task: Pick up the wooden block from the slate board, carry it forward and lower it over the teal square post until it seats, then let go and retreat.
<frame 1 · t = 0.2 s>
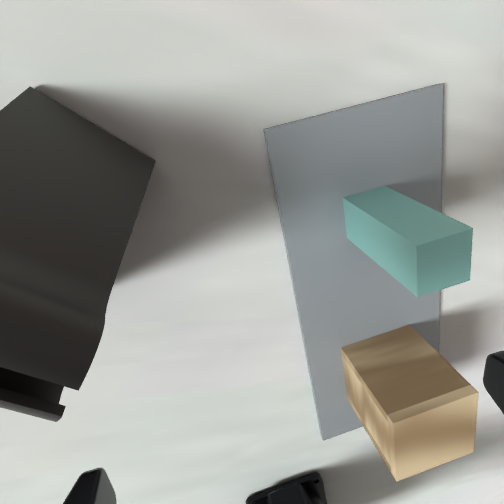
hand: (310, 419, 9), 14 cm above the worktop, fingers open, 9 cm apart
wooden block: (377, 363, 28), resting on board
board: (368, 292, 26), on the worktop
post: (365, 212, 23), resting on board
phone stand: (56, 203, 19), on the worktop
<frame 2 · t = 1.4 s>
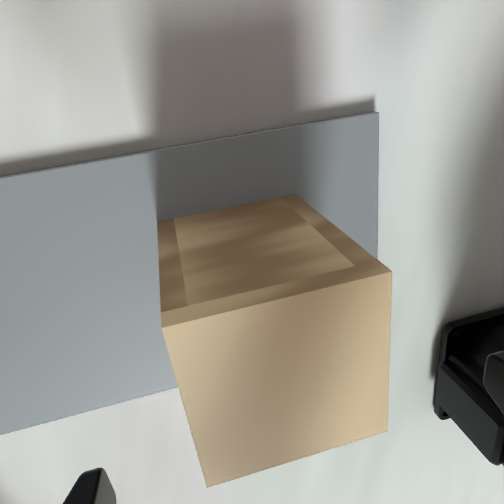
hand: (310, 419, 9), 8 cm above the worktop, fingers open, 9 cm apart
wooden block: (238, 269, 15), resting on board
board: (83, 299, 15), on the worktop
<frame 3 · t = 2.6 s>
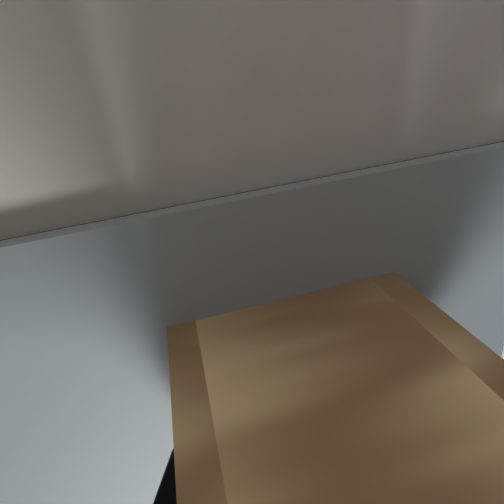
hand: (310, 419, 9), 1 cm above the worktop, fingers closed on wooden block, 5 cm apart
wooden block: (295, 387, 10), resting on board, touching gripper
board: (45, 443, 9), on the worktop
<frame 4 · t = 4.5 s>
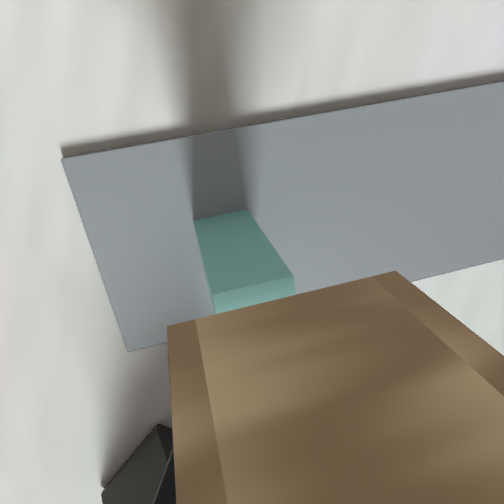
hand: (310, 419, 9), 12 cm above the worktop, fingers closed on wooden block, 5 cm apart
wooden block: (296, 386, 10), point 11 cm above the worktop, touching gripper
board: (337, 212, 20), on the worktop
post: (225, 239, 19), resting on board
phone stand: (189, 473, 26), on the worktop
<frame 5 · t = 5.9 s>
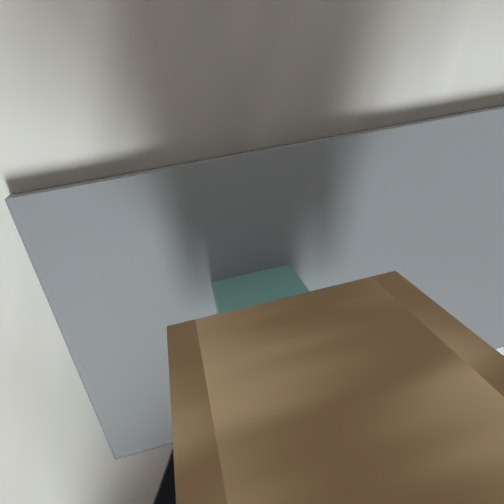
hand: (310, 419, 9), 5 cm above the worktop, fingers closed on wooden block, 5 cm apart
wooden block: (296, 386, 10), point 4 cm above the worktop, touching gripper
board: (411, 262, 14), on the worktop
post: (256, 306, 13), resting on board
when the fingers open (4 cm above the worktop, at t = 6.8 s): wooden block drops 1 cm, resting on post.
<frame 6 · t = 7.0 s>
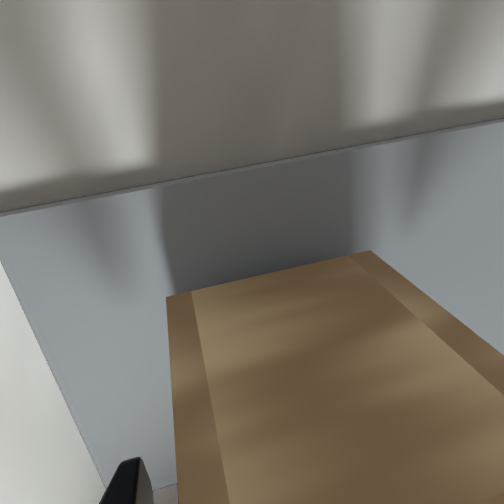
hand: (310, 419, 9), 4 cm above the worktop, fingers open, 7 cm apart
wooden block: (282, 355, 11), point 1 cm above the worktop, touching post
board: (442, 283, 13), on the worktop
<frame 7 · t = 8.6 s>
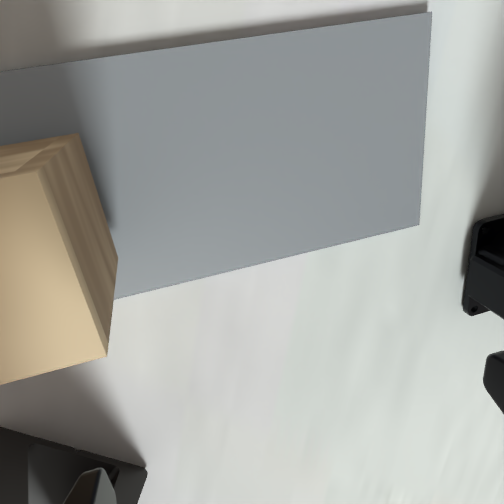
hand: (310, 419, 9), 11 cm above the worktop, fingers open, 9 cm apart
wooden block: (30, 213, 15), point 1 cm above the worktop, touching post
board: (180, 176, 17), on the worktop
phone stand: (51, 481, 23), on the worktop
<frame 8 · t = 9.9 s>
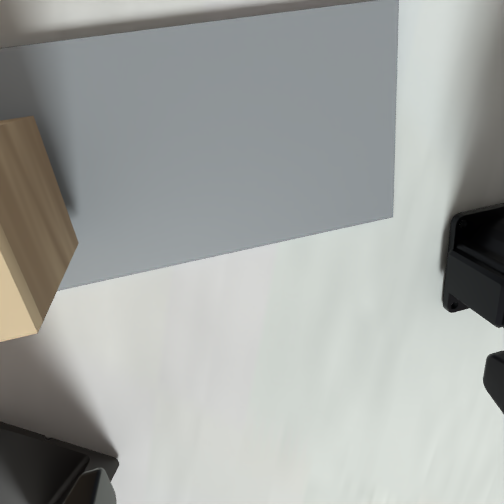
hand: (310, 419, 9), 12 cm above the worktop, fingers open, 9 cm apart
board: (143, 163, 17), on the worktop
phone stand: (22, 468, 23), on the worktop
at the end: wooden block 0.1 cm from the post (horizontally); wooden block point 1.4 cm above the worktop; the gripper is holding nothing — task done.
